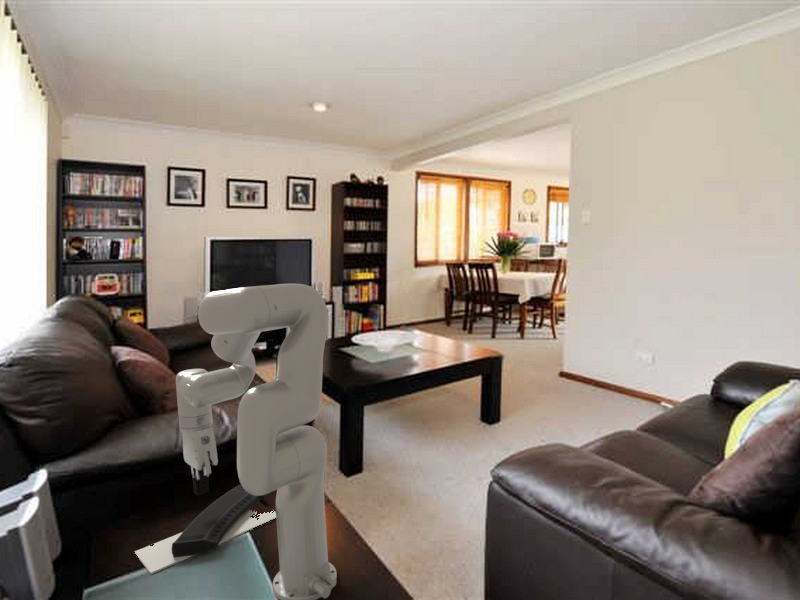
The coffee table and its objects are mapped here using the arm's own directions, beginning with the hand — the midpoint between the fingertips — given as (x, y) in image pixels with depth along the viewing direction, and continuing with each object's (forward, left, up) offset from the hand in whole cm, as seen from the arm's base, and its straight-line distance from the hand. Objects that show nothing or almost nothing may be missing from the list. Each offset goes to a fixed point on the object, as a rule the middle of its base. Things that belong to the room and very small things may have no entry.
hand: (201, 492), depth 120 cm
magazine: (+3, -1, -7) cm, 8 cm away
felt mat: (-4, 0, -9) cm, 10 cm away
